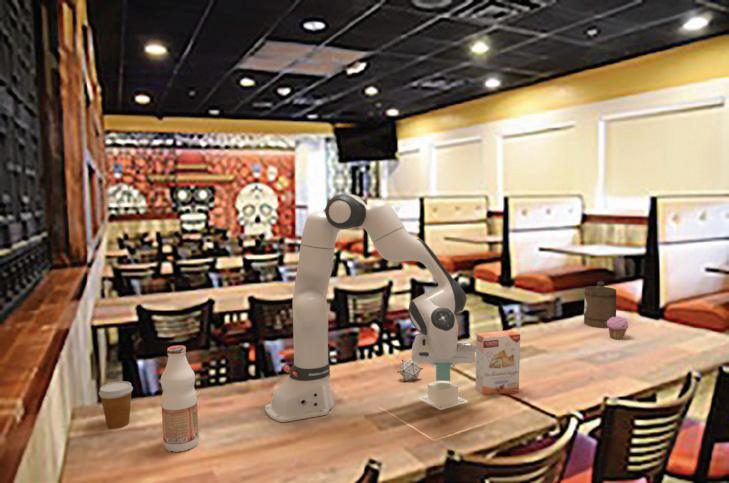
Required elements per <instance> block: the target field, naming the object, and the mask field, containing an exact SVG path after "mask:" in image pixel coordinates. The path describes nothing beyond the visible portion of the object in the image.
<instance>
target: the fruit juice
mask: <svg viewBox="0 0 729 483" xmlns="http://www.w3.org/2000/svg"><path fill="white" fill-rule="evenodd" d="M186 351H187V347H186V346H185V345H182V344H181V345H171V346H169V347H167V349H166V353H167V356H168V358H167V361H166V365H165V368H164V371H163V372H162V374H161V377H160V385H161V388H162V394H161V398H160V399H161V400H160V401H161V402H160V403H161V405H160V407H161V422H162V438H163V447H164V449H165V451H168V452H171V451H173V452H174V453H180V452H179V451H181V452H185V450H186V451H189V450H192V449H194V448H195V447H196V446H197V445H198V444H199V438H200V435H199V433H200V432H199V418H198V417H199V416H198V413H199V412H198V398H197V397H198V396H197V391H196V389H195V384H196V374H195V372H194V370H193V369H192V366H191V365H190V364H189V361H188V359H187V356H186V353H187V352H186ZM188 449H189V450H188ZM173 452H172V453H173Z"/></svg>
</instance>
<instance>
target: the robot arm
mask: <svg viewBox="0 0 729 483" xmlns="http://www.w3.org/2000/svg"><path fill="white" fill-rule="evenodd" d="M359 227H360V228H363V229H364V230H365V231H366V233H367V235H368V236H369V239H370V240H371V242H372V245H373V246H374V249H375V250H376V252H377V253H378V255H379V256H380V257H381V258H383V259H384V260H386V261H389V262H392V263H393V262H394V263H398V262H399V263H400V262H411V261H412V262H413V261H415V262H419V263H421V264H422V265H424V267H425V268H426V269H427V270H428V272H429V273H430V274H431V276H432V277H433V279H434V280H435V282H436V283H437V284H438V286H436V287H435V288H433V289H431V290H429V291H427V292H425V293H423V294H421V295H419V296H417V297H415V298H414V299H411V301H410V302H409V304H408V315H409V319H410V321H411V324H412V325H413V327H414V328H415V329H416V330H417V331H418V333H420V334H417V335H415V338H414V341H413V342H412V347H411V360H412V361H413V362H416V363H428V364H430V365H431V367H436V363H450V368H455V365H457V364H473V363H476V350H477V347H476V345H474V344H472V343H470V342H458V341H459V340H458V336H459V326H458V321H457V317H456V315H455V314H458V313H460V312H462V311H463V310H464V309H465V307H466V303H467V294H466V292H465V291H464V289H463V288H462V287H461V285H460V284H459V283H458V282H457V281H456V280H455V278H453V277H452V275H451V274H450V273H449V271H448V270H447V268H446V267H445V266H444V265H443V264H442V262H441V261H440V259H439V257H438V256H437V255H436V253H434V251H433V250H432V249H431V247H429V245H428V244H427V243H426V242H425V241H423V239H421V238H415V237H414V236H413V235H412V234H410V233H409V231H408V230H407V229H406V227H405V225H404V224H403V222H402V220H401V218H400V216H399V215H398V213H397V212H396V210H395V209H394V208H393V207H392V205H391V204H390V203H389V202H387V201H385V200H378V201H374V202H372V203H369V204H368V203H367V202H366V200H364V198H362V197H360V196H358V195H356V194H352V193H345V194H344V193H341V194H336V195H335V196H333V197H332V198H330V200H328V202H327V204H326V206H325V211H319V210H318V211H314V212H311V213H310V214H308V216H307V217H306V220H305V223H304V225H303V230H302V235H301V238H300V246H299V253H298V254H299V255H298V260H297V261H298V262H297V267H296V274H295V280H294V287H293V294H292V301H291V302H292V329H293V330H292V331H293V333H292V334H293V364H292V366H290V365H287V364H286V365H284V367H283V371H284V372H286V373H289V376H288V377H287V378H286V379H285V380H284V381H283V382H282V383H281V384H280V385H278V386H277V387H276V388H275V389H273V393H272V397H271V403H267V404H266V405H265V408H264V412H265V414H266V415H267V416H268V417H269V418H270V419H272V420H274V421H276V422H281V423H286V422H291V421H298V420H304V419H310V418H315V417H321V416H325V415H328V414H329V412H330V410H331V409H332V408H334V406H335V401H334V399H333V394H332V389H331V385H330V378H331V369H330V368H331V366H330V364H331V363H330V362H329V345H328V343H329V339H328V338H329V306H328V301H327V295H328V290H329V284H330V280H331V276H332V272H333V271H332V270H333V264H334V259H335V258H334V257H335V250H336V249H335V248H336V241H337V236H338V234H339V232H340V231H342V230H352V229H355V228H359Z"/></svg>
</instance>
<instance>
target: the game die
mask: <svg viewBox="0 0 729 483" xmlns="http://www.w3.org/2000/svg"><path fill="white" fill-rule="evenodd" d="M401 361H402V363H401V365H400V369H399V370H398V371H397V373H399V374H400V375H401V376H402V378H403V379H404V383H407V382H409V381H416V380H418V378H419V375H420V373H421V371H422V370H423V369H424V368H423V367H420V366H419V364H418V362H413V361H412V359H410V360H409V359H408V360H404V359H401Z"/></svg>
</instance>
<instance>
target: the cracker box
mask: <svg viewBox="0 0 729 483" xmlns="http://www.w3.org/2000/svg"><path fill="white" fill-rule="evenodd" d="M475 335H476V338H475V340H476V341H475V346H476V347H477V350H476V352H475V391H477V393H479V394H480V395H482V396H487V395H494V394H502V395H508V394H516V393H519V392H520V362H521V361H520V358H521V357H520V356H521V355H520V354H521V334H520V333H519V332H518V331H517V332H516V331H515V330H512V329H511V330H510V329H508V330H500V331H498V330H497V331H489V332H487V331H486V332H485V331H484V332H477V333H475Z"/></svg>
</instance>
